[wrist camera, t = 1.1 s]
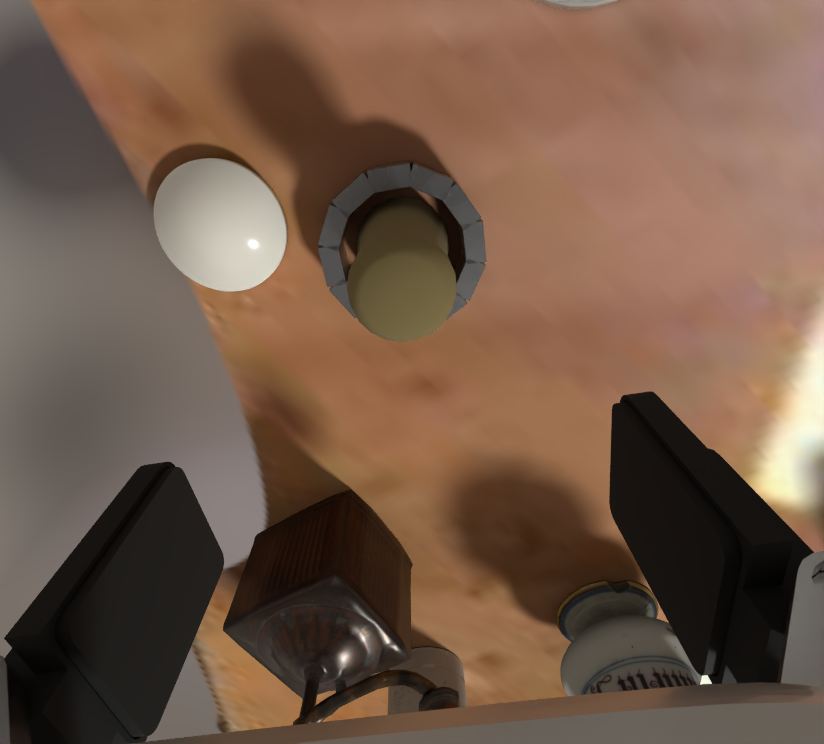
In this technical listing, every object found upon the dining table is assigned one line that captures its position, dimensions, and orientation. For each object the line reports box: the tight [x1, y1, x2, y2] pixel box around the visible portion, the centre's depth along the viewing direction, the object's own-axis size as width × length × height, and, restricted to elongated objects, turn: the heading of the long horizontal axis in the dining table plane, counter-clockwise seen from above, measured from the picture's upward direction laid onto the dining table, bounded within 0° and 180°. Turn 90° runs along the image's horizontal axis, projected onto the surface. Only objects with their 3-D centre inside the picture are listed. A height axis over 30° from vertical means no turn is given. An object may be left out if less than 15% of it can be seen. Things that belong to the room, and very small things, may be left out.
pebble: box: [153, 158, 288, 291], centre depth 30 cm, size 8×8×1 cm
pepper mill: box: [223, 490, 460, 725], centre depth 35 cm, size 16×11×18 cm
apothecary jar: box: [557, 581, 702, 696], centre depth 40 cm, size 12×12×18 cm
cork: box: [347, 197, 457, 342], centre depth 26 cm, size 6×6×11 cm
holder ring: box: [318, 161, 486, 321], centre depth 30 cm, size 10×10×2 cm
